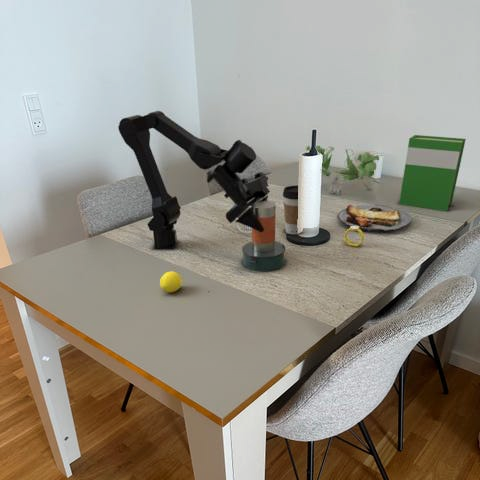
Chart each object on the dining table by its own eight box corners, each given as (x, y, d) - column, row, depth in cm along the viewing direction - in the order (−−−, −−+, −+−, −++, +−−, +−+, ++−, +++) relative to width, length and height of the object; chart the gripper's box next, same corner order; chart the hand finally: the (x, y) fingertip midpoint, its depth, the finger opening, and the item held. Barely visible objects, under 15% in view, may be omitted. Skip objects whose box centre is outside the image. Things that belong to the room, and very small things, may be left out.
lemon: (172, 298, 120) (170, 280, 117) (155, 294, 123) (153, 275, 120) (188, 287, 125) (186, 269, 122) (172, 283, 128) (170, 265, 125)
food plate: (330, 229, 159) (331, 219, 157) (344, 208, 177) (345, 199, 175) (407, 238, 151) (408, 227, 149) (413, 215, 169) (414, 205, 167)
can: (257, 254, 132) (257, 209, 125) (248, 245, 137) (247, 202, 130) (278, 250, 134) (279, 206, 127) (269, 242, 139) (269, 199, 132)
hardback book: (451, 205, 177) (465, 138, 164) (447, 210, 172) (461, 142, 159) (404, 198, 185) (414, 134, 173) (399, 203, 180) (409, 138, 167)
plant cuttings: (310, 197, 212) (288, 176, 194) (324, 162, 211) (303, 137, 193) (381, 212, 192) (364, 190, 174) (397, 173, 192) (382, 147, 173)
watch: (363, 245, 146) (366, 227, 143) (360, 248, 144) (362, 230, 141) (345, 242, 149) (347, 224, 146) (342, 244, 147) (344, 226, 144)
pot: (232, 269, 134) (231, 255, 132) (255, 248, 146) (255, 235, 144) (272, 277, 129) (273, 262, 127) (293, 255, 142) (293, 241, 139)
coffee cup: (305, 236, 154) (308, 191, 146) (280, 235, 155) (281, 190, 148) (307, 227, 161) (310, 184, 153) (283, 226, 162) (284, 183, 155)
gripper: (234, 173, 117) (274, 221, 119) (263, 157, 132) (299, 200, 133) (209, 200, 125) (247, 245, 126) (239, 182, 139) (273, 222, 140)
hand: (267, 227), depth 131 cm, fingers closed on can, 7 cm apart
